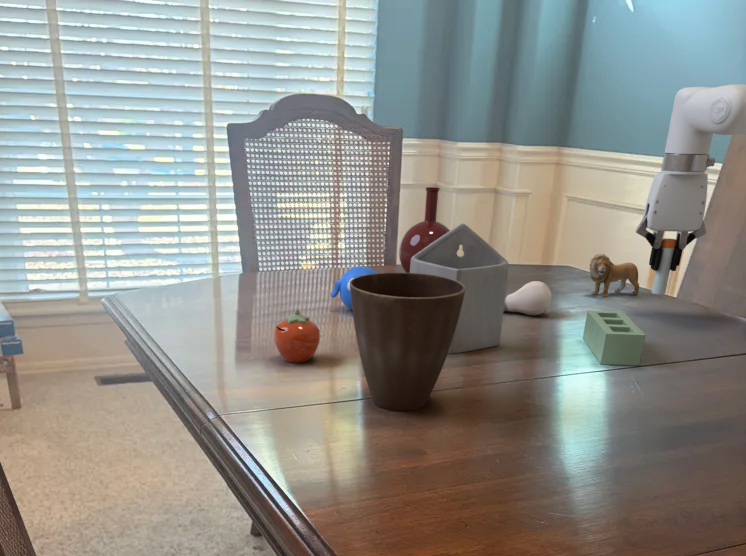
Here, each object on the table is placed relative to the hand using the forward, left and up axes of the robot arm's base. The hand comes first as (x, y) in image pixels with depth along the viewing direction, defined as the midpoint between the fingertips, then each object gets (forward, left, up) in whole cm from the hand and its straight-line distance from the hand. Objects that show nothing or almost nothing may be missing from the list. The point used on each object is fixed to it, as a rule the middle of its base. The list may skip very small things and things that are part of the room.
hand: (663, 268), depth 150 cm
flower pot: (+49, +59, -9) cm, 77 cm away
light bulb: (+26, +3, -9) cm, 28 cm away
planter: (+41, +30, -9) cm, 52 cm away
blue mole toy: (+58, +8, -9) cm, 60 cm away
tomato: (+66, +41, -9) cm, 78 cm away
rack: (+14, +28, -9) cm, 32 cm away
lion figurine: (+4, -18, -9) cm, 21 cm away
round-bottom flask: (+45, -25, -9) cm, 53 cm away
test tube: (0, 0, -5) cm, 5 cm away
